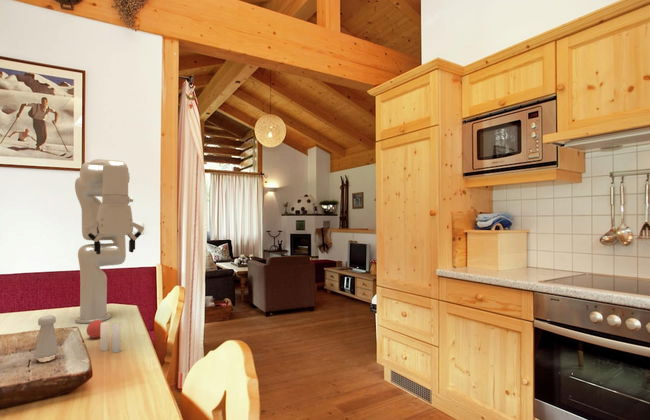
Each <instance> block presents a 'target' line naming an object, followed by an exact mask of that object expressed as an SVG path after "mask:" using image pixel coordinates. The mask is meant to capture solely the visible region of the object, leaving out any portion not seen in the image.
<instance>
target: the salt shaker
mask: <svg viewBox="0 0 650 420" xmlns="http://www.w3.org/2000/svg"><path fill="white" fill-rule="evenodd" d="M55 323H57V319H56V316H55V315H52V314H51V315H49V314H48V315H43V316H40V317H39V318H38V320H37V324H38V326H40V328H39V332H38V337H37V341H36V345H35V350H34V357H37V358H44V357H50V356H53V355H56V354H57V353H58V354H59V346H58V341H57V336H56V332H55V331H56V330H55V326H54V324H55ZM58 354H57V355H58Z"/></svg>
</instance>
